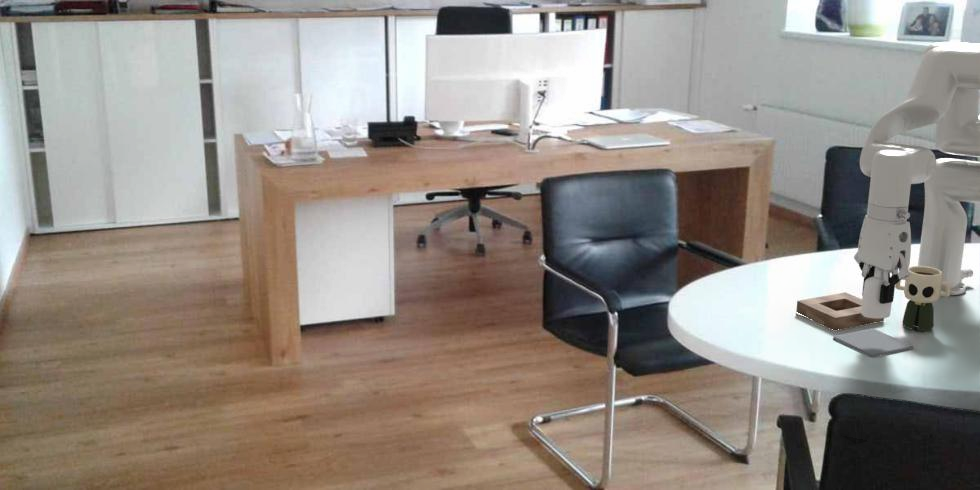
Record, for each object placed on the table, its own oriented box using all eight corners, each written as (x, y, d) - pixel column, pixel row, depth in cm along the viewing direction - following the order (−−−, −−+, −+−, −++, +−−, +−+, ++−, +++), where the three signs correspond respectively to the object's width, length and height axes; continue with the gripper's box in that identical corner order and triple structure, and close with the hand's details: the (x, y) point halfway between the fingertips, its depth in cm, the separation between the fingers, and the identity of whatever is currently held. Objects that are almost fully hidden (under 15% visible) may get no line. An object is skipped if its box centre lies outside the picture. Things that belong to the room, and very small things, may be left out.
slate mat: (872, 331, 217) (873, 328, 217) (912, 348, 207) (913, 345, 207) (833, 338, 212) (833, 336, 212) (872, 357, 203) (872, 354, 203)
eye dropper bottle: (862, 310, 211) (869, 255, 208) (890, 314, 209) (898, 259, 205) (859, 316, 208) (866, 261, 204) (887, 321, 205) (895, 265, 201)
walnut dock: (844, 304, 233) (845, 292, 232) (883, 321, 222) (884, 308, 222) (796, 313, 227) (797, 300, 227) (834, 330, 217) (835, 317, 216)
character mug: (887, 328, 218) (894, 271, 215) (893, 318, 224) (900, 262, 221) (942, 337, 213) (950, 279, 209) (946, 327, 219) (954, 270, 215)
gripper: (934, 220, 196) (923, 309, 201) (870, 201, 211) (861, 285, 216) (905, 224, 193) (894, 314, 198) (842, 205, 208) (834, 289, 213)
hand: (877, 298), depth 207 cm, fingers closed on eye dropper bottle, 4 cm apart
